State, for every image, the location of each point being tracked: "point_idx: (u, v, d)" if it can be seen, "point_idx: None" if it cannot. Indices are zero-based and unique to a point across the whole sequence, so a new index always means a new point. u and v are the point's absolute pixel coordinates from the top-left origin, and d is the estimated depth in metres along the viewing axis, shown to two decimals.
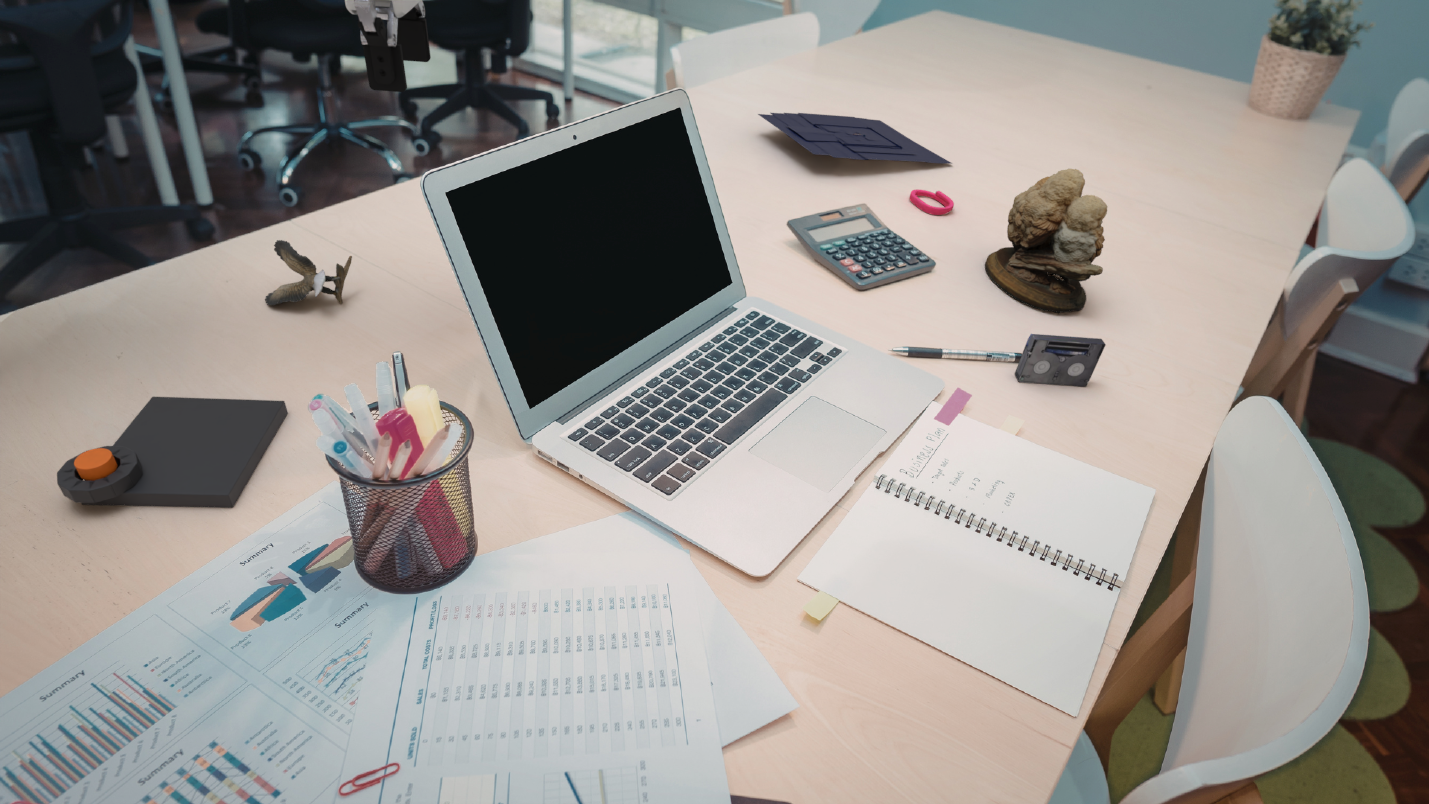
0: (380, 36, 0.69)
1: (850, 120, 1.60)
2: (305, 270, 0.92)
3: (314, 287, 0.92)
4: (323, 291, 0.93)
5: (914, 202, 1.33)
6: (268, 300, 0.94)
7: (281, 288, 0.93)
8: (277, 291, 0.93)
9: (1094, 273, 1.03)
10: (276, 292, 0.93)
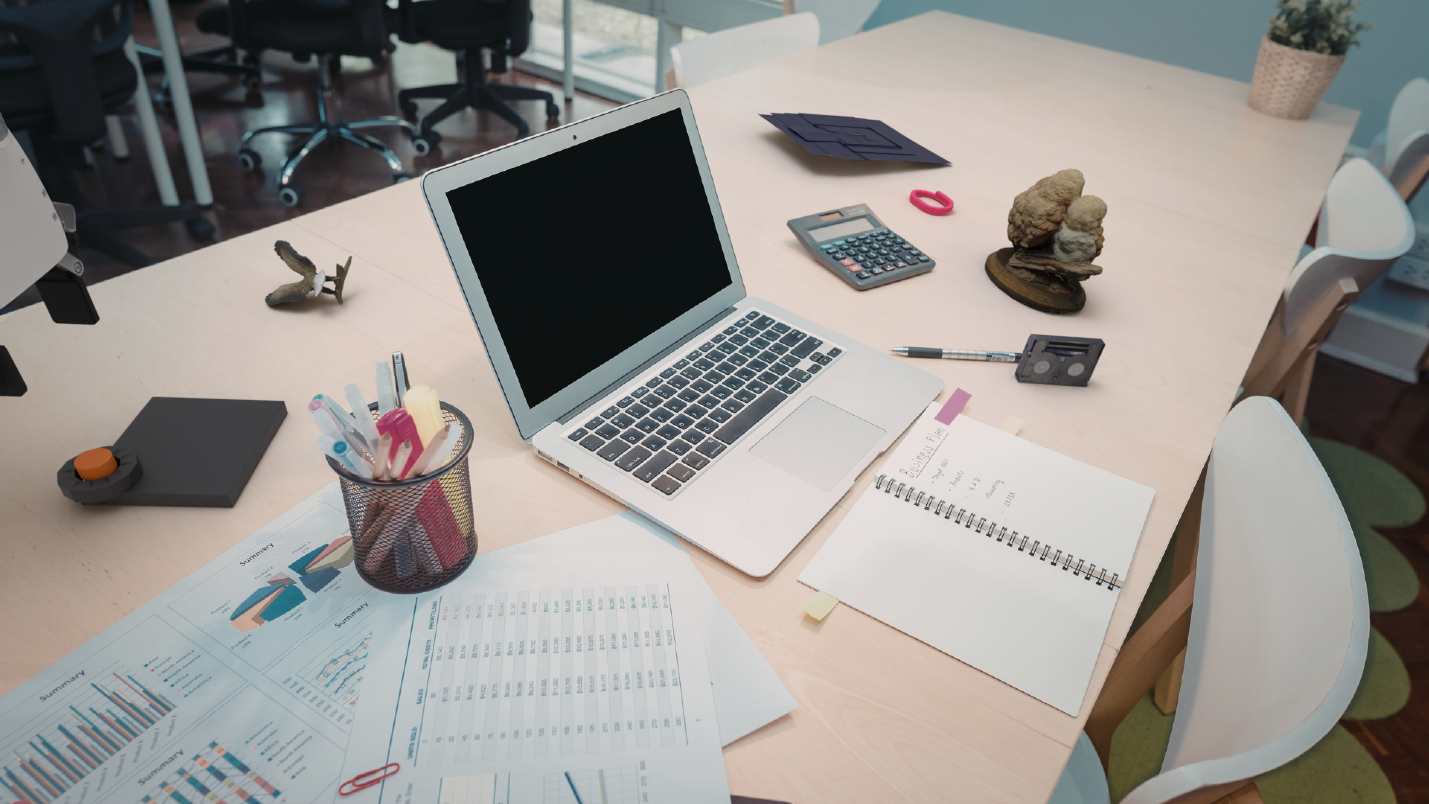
0: None
1: (850, 120, 1.60)
2: (305, 270, 0.92)
3: (314, 287, 0.92)
4: (323, 291, 0.93)
5: (914, 202, 1.33)
6: (268, 300, 0.94)
7: (281, 288, 0.93)
8: (277, 291, 0.93)
9: (1094, 273, 1.03)
10: (276, 292, 0.93)
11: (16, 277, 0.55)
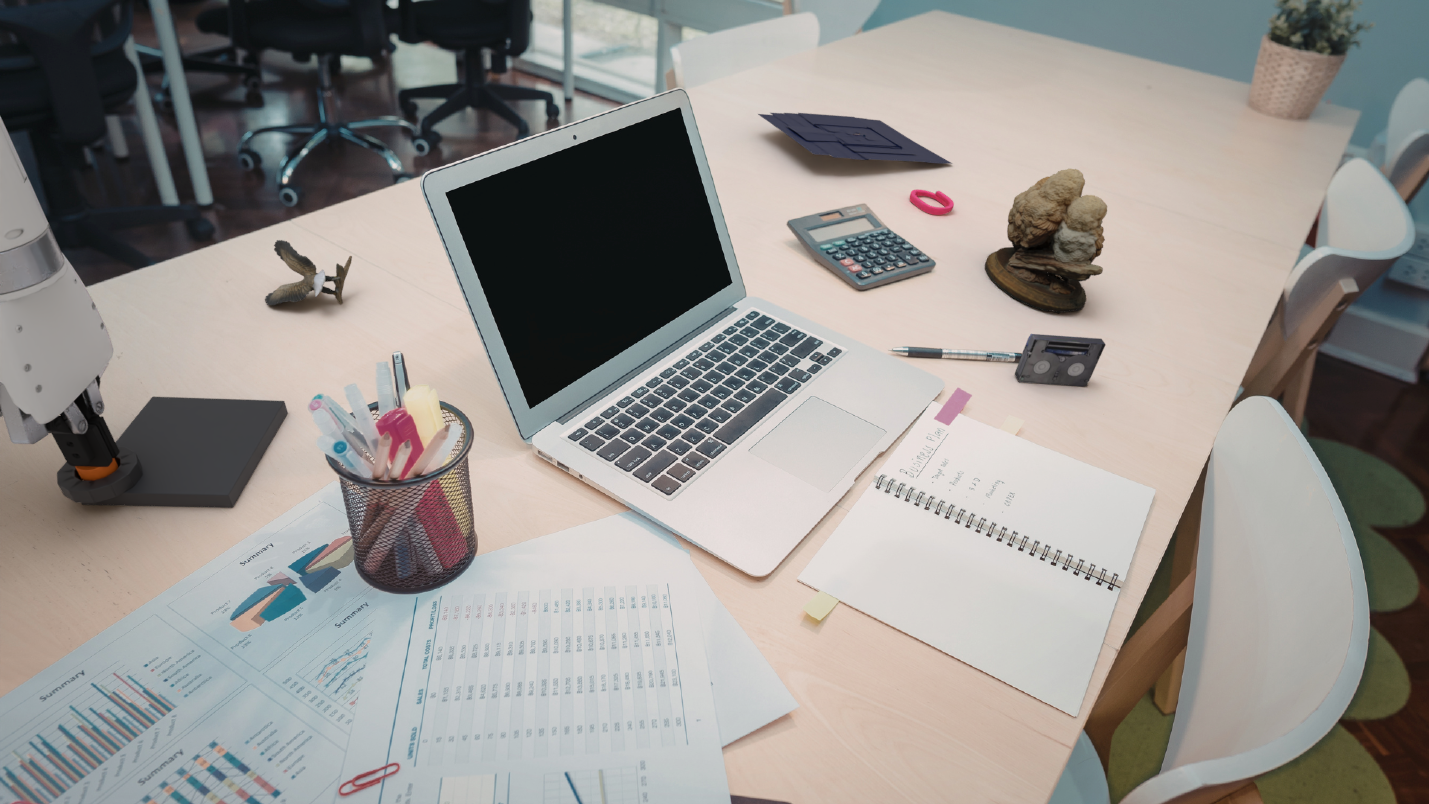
0: (59, 432, 0.61)
1: (850, 120, 1.60)
2: (305, 270, 0.92)
3: (314, 287, 0.92)
4: (323, 291, 0.93)
5: (914, 202, 1.33)
6: (268, 300, 0.94)
7: (281, 288, 0.93)
8: (277, 291, 0.93)
9: (1094, 273, 1.03)
10: (276, 292, 0.93)
11: (70, 387, 0.60)
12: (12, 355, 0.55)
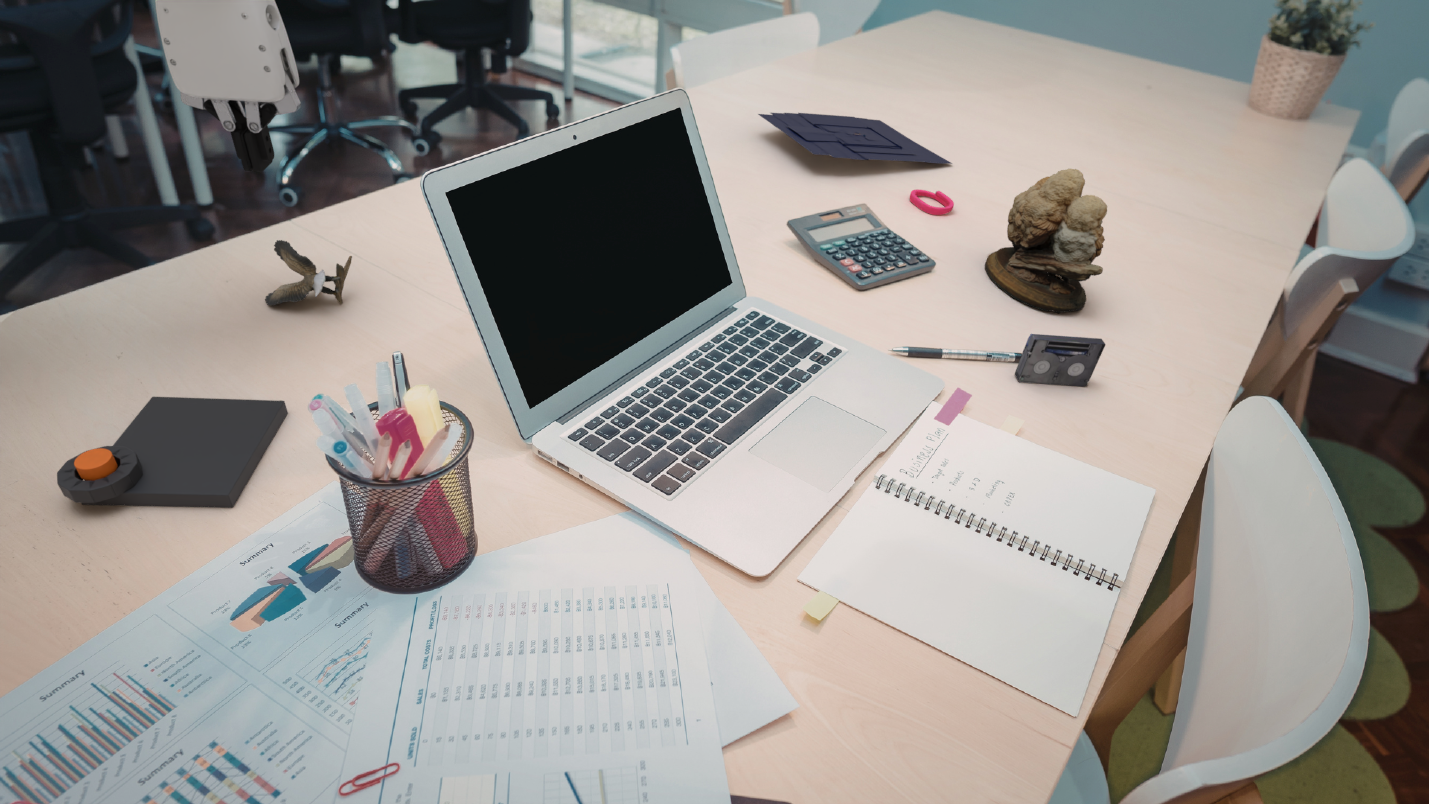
0: (215, 116, 0.79)
1: (850, 120, 1.60)
2: (305, 270, 0.92)
3: (314, 287, 0.92)
4: (323, 291, 0.93)
5: (914, 202, 1.33)
6: (268, 300, 0.94)
7: (281, 288, 0.93)
8: (277, 291, 0.93)
9: (1094, 273, 1.03)
10: (276, 292, 0.93)
11: (207, 84, 0.75)
12: (159, 25, 0.73)
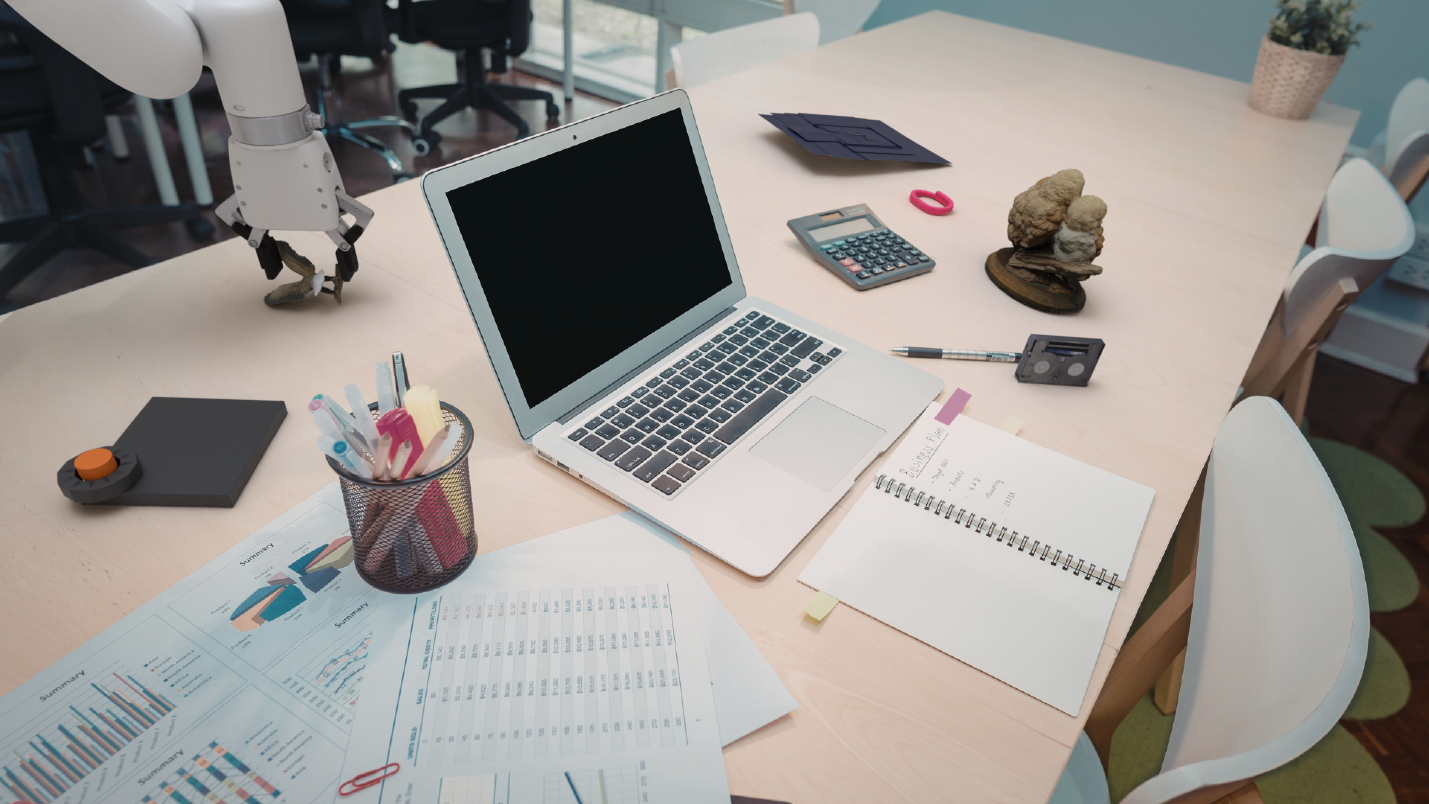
0: (241, 235, 0.90)
1: (850, 120, 1.60)
2: (304, 270, 0.92)
3: (313, 287, 0.92)
4: (322, 291, 0.93)
5: (914, 202, 1.33)
6: (267, 300, 0.93)
7: (280, 288, 0.93)
8: (276, 291, 0.93)
9: (1094, 273, 1.03)
10: (275, 292, 0.93)
11: (272, 219, 0.87)
12: (232, 174, 0.84)
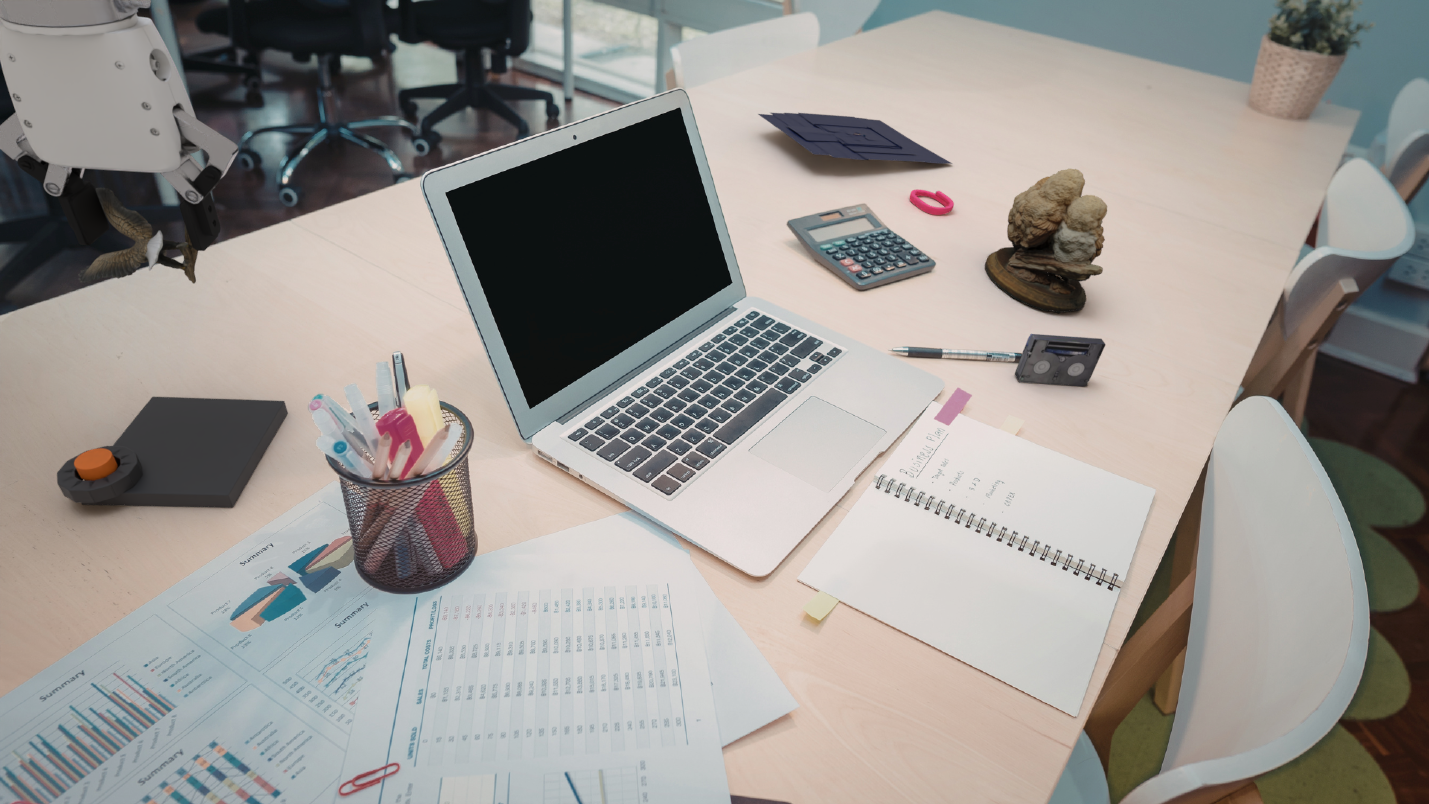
0: (35, 176, 0.60)
1: (850, 120, 1.60)
2: (136, 232, 0.63)
3: (148, 257, 0.62)
4: (165, 263, 0.64)
5: (914, 202, 1.33)
6: (82, 275, 0.64)
7: (100, 257, 0.63)
8: (95, 263, 0.63)
9: (1094, 273, 1.03)
10: (93, 264, 0.63)
11: (76, 151, 0.58)
12: (5, 77, 0.55)
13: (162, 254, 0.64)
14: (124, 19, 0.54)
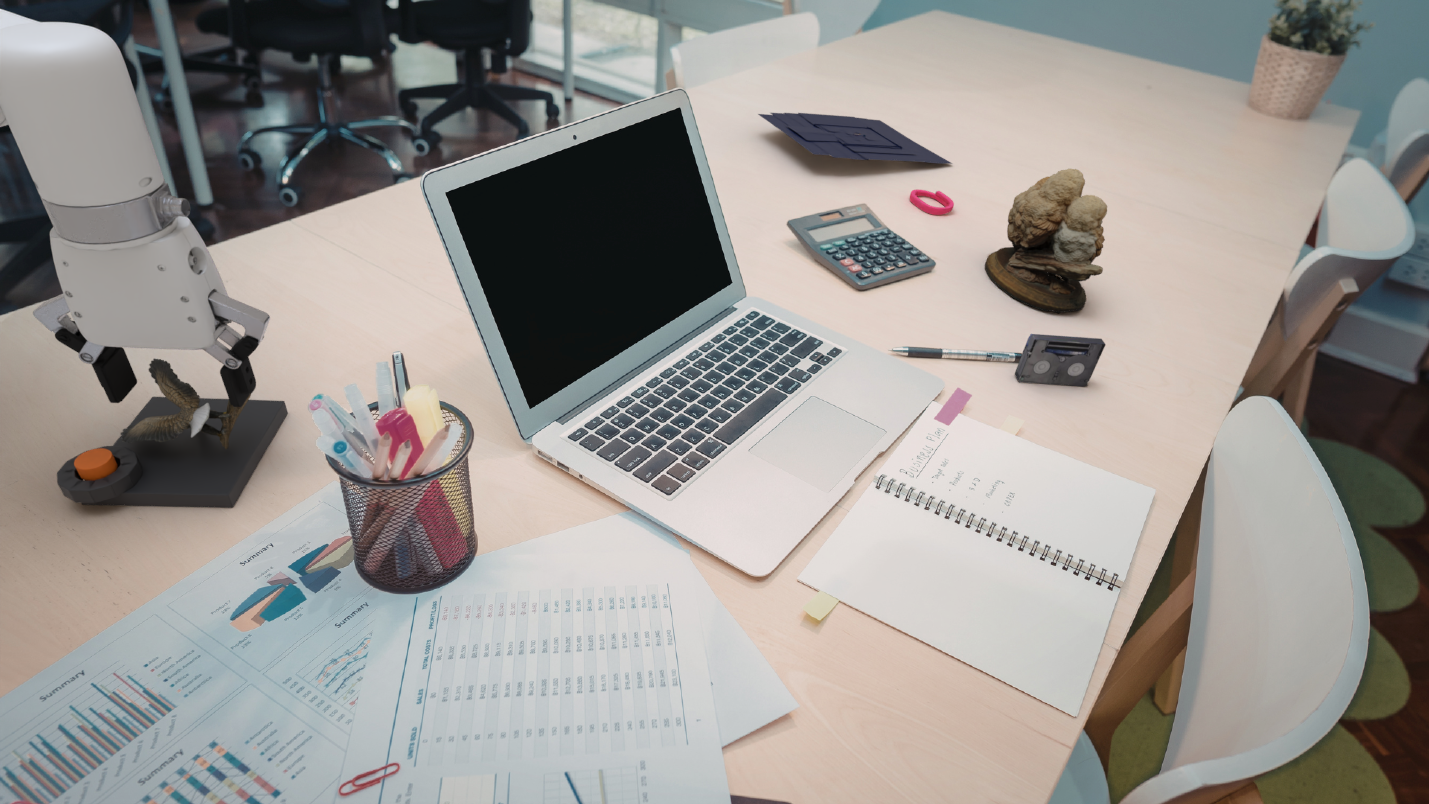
0: (70, 346, 0.65)
1: (850, 120, 1.60)
2: (184, 401, 0.70)
3: (192, 424, 0.69)
4: (204, 430, 0.70)
5: (914, 202, 1.33)
6: (124, 435, 0.70)
7: (145, 421, 0.70)
8: (140, 425, 0.69)
9: (1094, 273, 1.03)
10: (138, 426, 0.70)
11: (120, 335, 0.63)
12: (59, 277, 0.60)
13: None
14: (166, 227, 0.60)
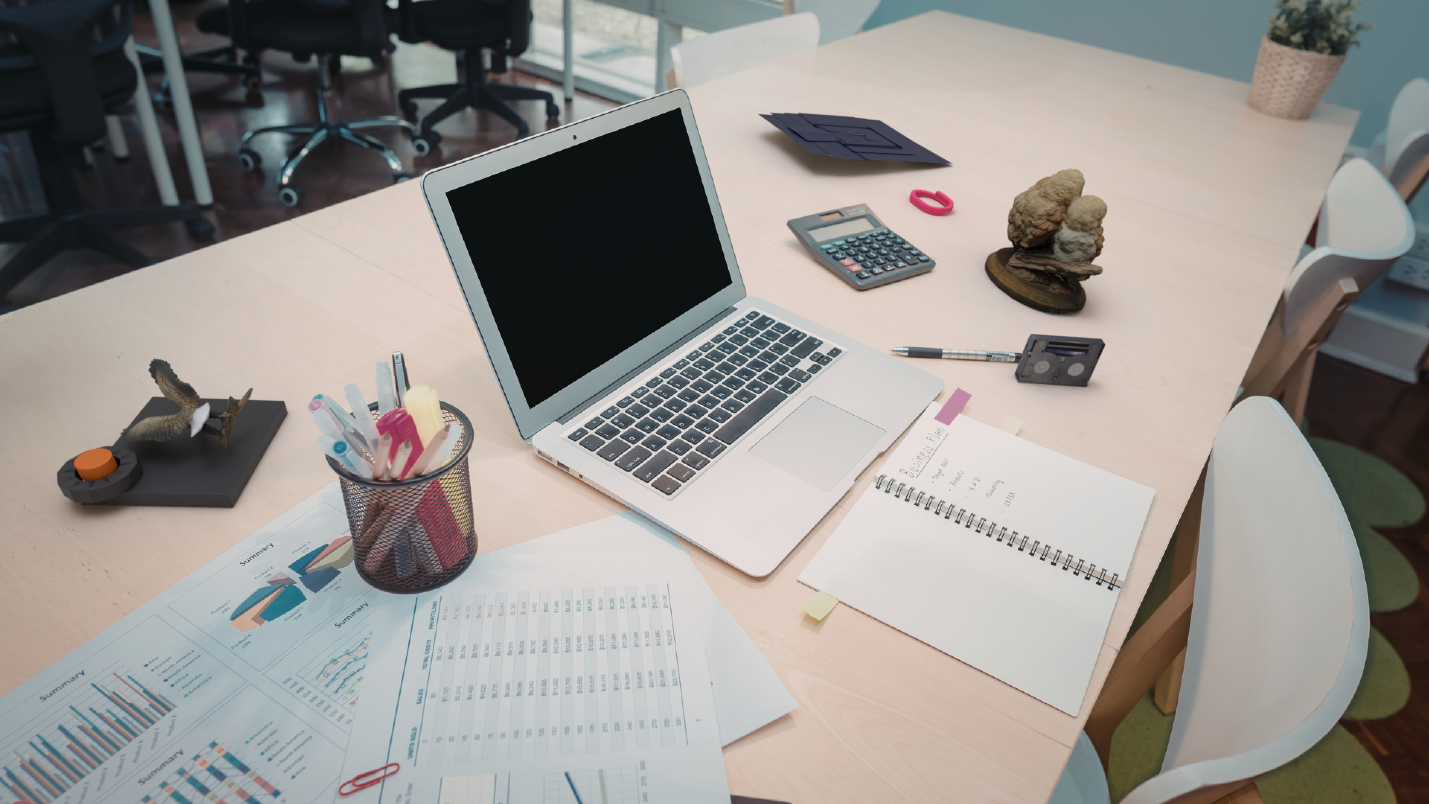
0: None
1: (850, 120, 1.60)
2: (184, 401, 0.70)
3: (192, 424, 0.69)
4: (204, 430, 0.70)
5: (914, 202, 1.33)
6: (124, 435, 0.70)
7: (145, 421, 0.70)
8: (140, 425, 0.69)
9: (1094, 273, 1.03)
10: (138, 426, 0.70)
11: None
12: None
13: None
14: None
